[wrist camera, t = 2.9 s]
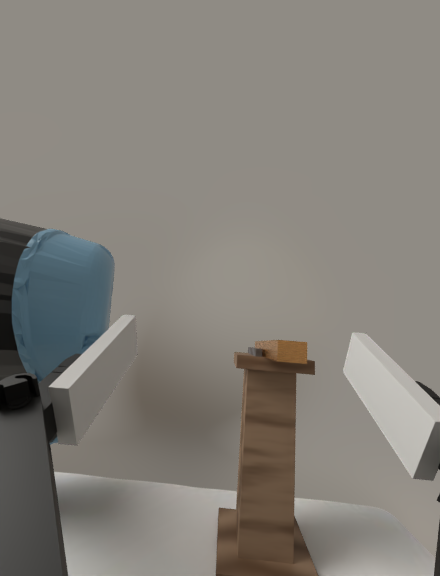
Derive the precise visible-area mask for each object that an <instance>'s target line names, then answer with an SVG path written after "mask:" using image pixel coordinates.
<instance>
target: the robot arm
mask: <svg viewBox="0 0 440 576" xmlns="http://www.w3.org/2000/svg"><path fill="white" fill-rule="evenodd" d="M113 280H114V259H113V257H112V255H111V253H110V252H109V251H108V250H107V249H106V248H105V247H103V246H102V245H100V244H97V243H94V242H91V241H87V240H84V239H81V238H77V237H74V236H70V235H69V234H68V233H66V232H63V231H60V230H55V229H44V228H40V227H36V226H31V225H27V224H23V223H18V222H14V221H9V220H5V219H0V576H68V572H67V565H66V557H65V550H64V543H63V535H62V528H61V521H60V513H59V506H58V499H57V491H56V484H55V477H54V469H53V462H52V455H51V448H50V445H51V444H53V443H59V444H65V445H75V446H77V445H78V444H79V442H80V440H81V439H82V438H83V436H84V434H85V433H86V431H87V430H88V428H89V427H90V425H91V424H92V422H93V421H94V419H95V418H96V416H97V415H98V413H99V412H100V410H101V409H102V407H103V406H104V404H105V403H106V401H107V400H108V398H109V397H110V395H111V394H112V392H113V391H114V389H115V388H116V386H117V385H118V383H119V382H120V380H121V379H122V377H123V376H124V374H125V373H126V371H127V370H128V368H129V367H130V365H131V364H132V362H133V361H134V359H135V358H136V356H137V355H138V354H137V333H136V316H134V315H123V316H121V317H120V318H119V319H118V320H117V321H116V322H115V323H114V324H113V325H112V326H111V327H110V328H109V318H110V309H111V296H112V290H113ZM108 328H109V329H108ZM343 372H344V374H345V376H346V377H347V379H348V380H349V382H350V383H351V385H352V386H353V388H354V389H355V391H356V392H357V394H358V395H359V397H360V399H361V400H362V402H363V403H364V405H365V406H366V408H367V409H368V411H369V412H370V414H371V415H372V417H373V418H374V420H375V422H376V423H377V425H378V426H379V428H380V429H381V431H382V432H383V434H384V435H385V437H386V439H387V440H388V442H389V443H390V445H391V446H392V448H393V449H394V451H395V452H396V454H397V455H398V457H399V458H400V460H401V462H402V463H403V465H404V466H405V468H406V469H407V471H408V472H409V474H410V475H411V477H412V478H413V479H422V480H431V481H433V480H434V478H435V475H436V473H437V471H438V469H439V470H440V398H439V396H438V395H437V394H435V393H434V392H433V391H432V390H431V389H430V388H428V387H427V386H425V385H423V384H422V383H420V382H417V381H414V380H413V379H412V378H411V377H410V376H409V375H407V373H406V372H405V371H404V370H403V369H402V368H401V367H399V366H398V365H397V364H396V363H395V362H394V361H393V360H392V359H391V358H390V357H389V356H388V355H387V354H386V353H385V352H384V351H383V350H382V349H381V348H380V347H379V346H378V345H377V344H376V343H375V342H374V341H373V340H372V339H371V338H370V337H369V336H368V335H367V334H365V333H354V332H353V333H352V336H351V341H350V345H349V349H348V353H347V358H346V362H345V365H344V370H343ZM437 501H438V502H440V495H439V496H438V499H437ZM434 576H440V523H439V532H438V542H437V552H436V561H435V571H434Z"/></svg>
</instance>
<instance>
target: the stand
mask: <svg viewBox="0 0 440 576" xmlns="http://www.w3.org/2000/svg"><path fill="white" fill-rule="evenodd" d="M234 363H235V366H236V368H241V369H244V381H243V398H242V416H241V434H240V452H239V469H238V487H237V504H236V510H235V509H225V508H219V515H218V537H217V560H216V576H318V574H317V572H316V569H315V567H314V564H313V562H312V559H311V556H310V554H309V551H308V549H307V546H306V544H305V541H304V539H303V536H302V534H301V531H300V529H299V526H298V524H297V521H296V519H295V516H294V487H295V486H294V485H295V422H296V419H295V418H296V373H301V374H312V375H315V362H314V361H311V360H307V364H301V363H289V362H277V361H274V360H271V359H269V358H266V357H263V356H262V349H259V348H251V347H249V348H248V353H241V352H235V353H234Z"/></svg>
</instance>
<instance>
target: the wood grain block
mask: <svg viewBox="0 0 440 576" xmlns="http://www.w3.org/2000/svg"><path fill="white" fill-rule="evenodd" d="M255 348H259V349H262V356H263V357H266V358H269V359H271V360H274V361H277V362H289V363H301V364H307V342H296V341H283V340H271V341H256V342H255Z"/></svg>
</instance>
